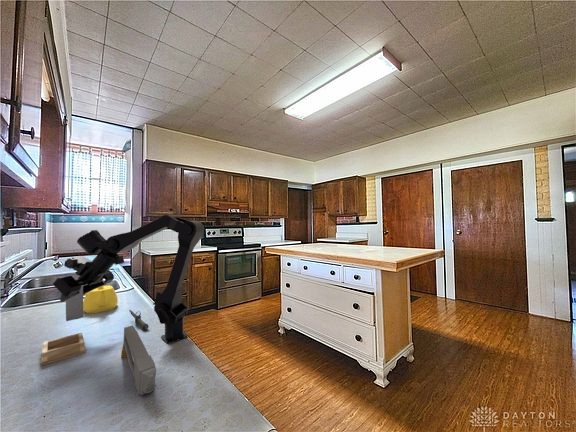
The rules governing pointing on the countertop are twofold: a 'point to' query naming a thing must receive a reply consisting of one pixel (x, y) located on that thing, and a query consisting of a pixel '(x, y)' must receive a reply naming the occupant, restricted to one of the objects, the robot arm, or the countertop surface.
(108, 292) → the teapot
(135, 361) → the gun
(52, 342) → the dock
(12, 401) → the countertop surface
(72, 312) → the post
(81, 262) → the robot arm
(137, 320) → the knife
